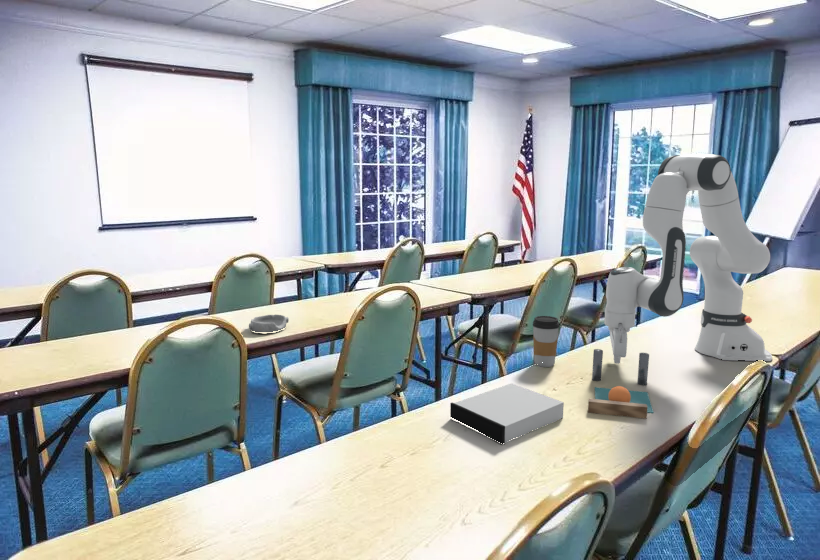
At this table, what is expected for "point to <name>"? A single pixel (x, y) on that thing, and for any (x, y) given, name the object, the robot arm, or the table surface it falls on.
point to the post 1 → (597, 364)
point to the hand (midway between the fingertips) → (616, 362)
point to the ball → (619, 394)
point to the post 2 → (643, 368)
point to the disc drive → (507, 412)
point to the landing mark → (635, 395)
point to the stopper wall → (617, 408)
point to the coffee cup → (545, 340)
